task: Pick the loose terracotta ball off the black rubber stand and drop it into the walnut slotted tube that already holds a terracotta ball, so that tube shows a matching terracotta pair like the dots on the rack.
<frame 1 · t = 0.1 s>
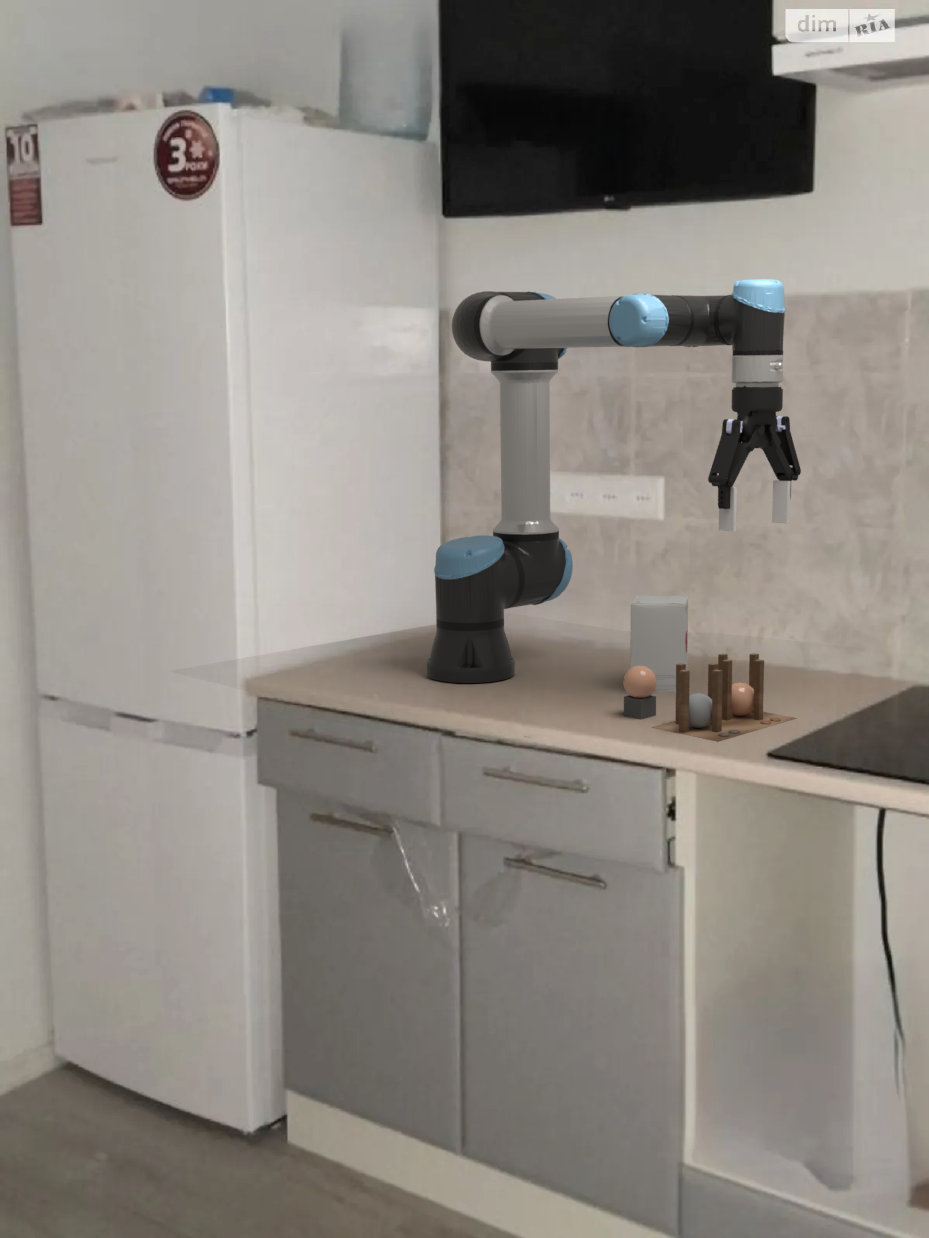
hand: (754, 527, 231), 28 cm above the worktop, fingers open, 13 cm apart
supplement box: (659, 690, 249), on the worktop
stand: (639, 719, 229), on the worktop
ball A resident: (698, 727, 221), point 1 cm above the worktop, touching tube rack
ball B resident: (739, 715, 227), point 1 cm above the worktop, touching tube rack
ball loose: (640, 682, 228), point 6 cm above the worktop, touching stand
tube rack: (724, 726, 223), on the worktop
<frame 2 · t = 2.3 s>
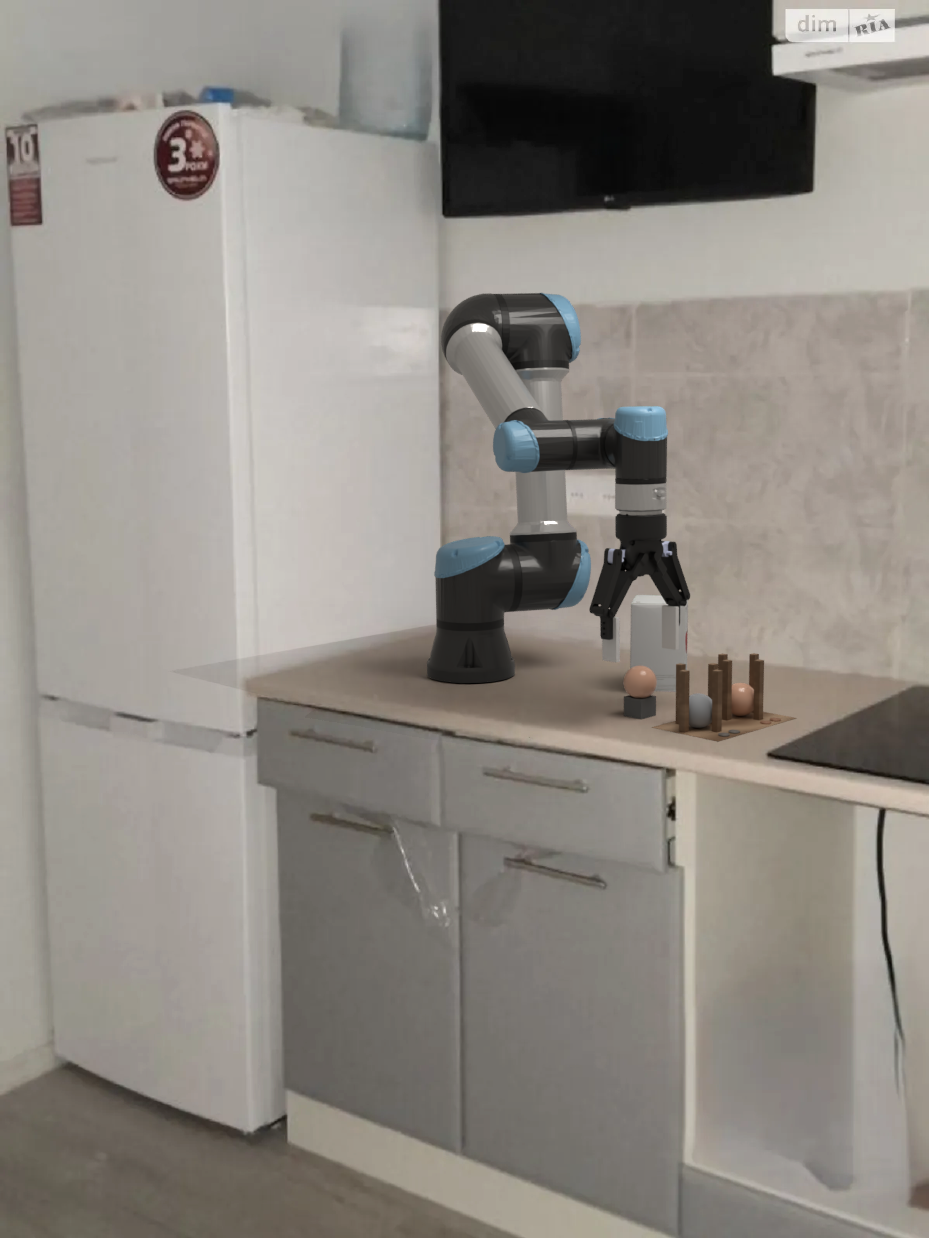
hand: (641, 654, 227), 10 cm above the worktop, fingers open, 13 cm apart
nothing on the worktop moved.
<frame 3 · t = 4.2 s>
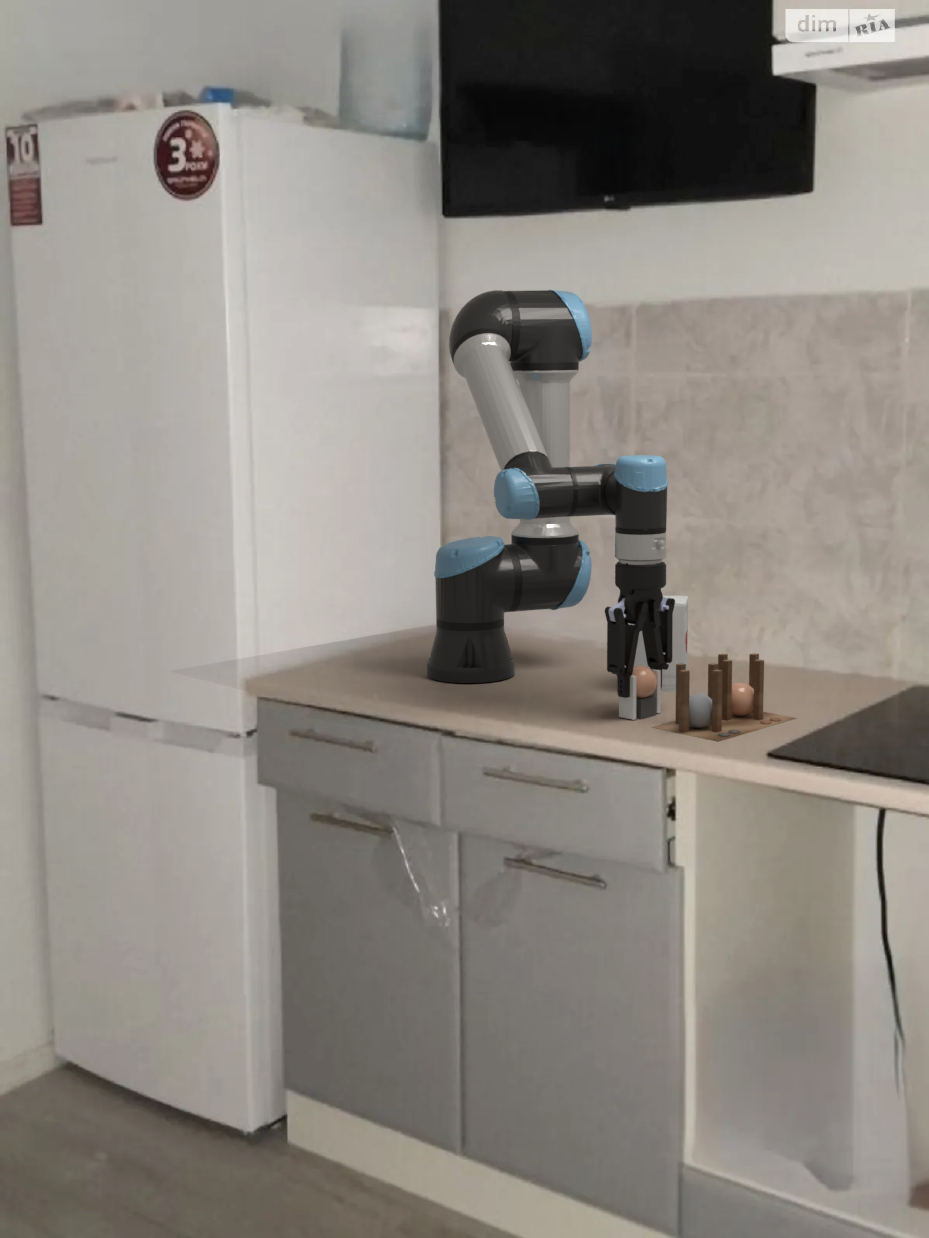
hand: (639, 714, 228), 1 cm above the worktop, fingers closed on ball loose, 5 cm apart
ball loose: (640, 682, 228), point 6 cm above the worktop, touching gripper, stand
everything else where it was.
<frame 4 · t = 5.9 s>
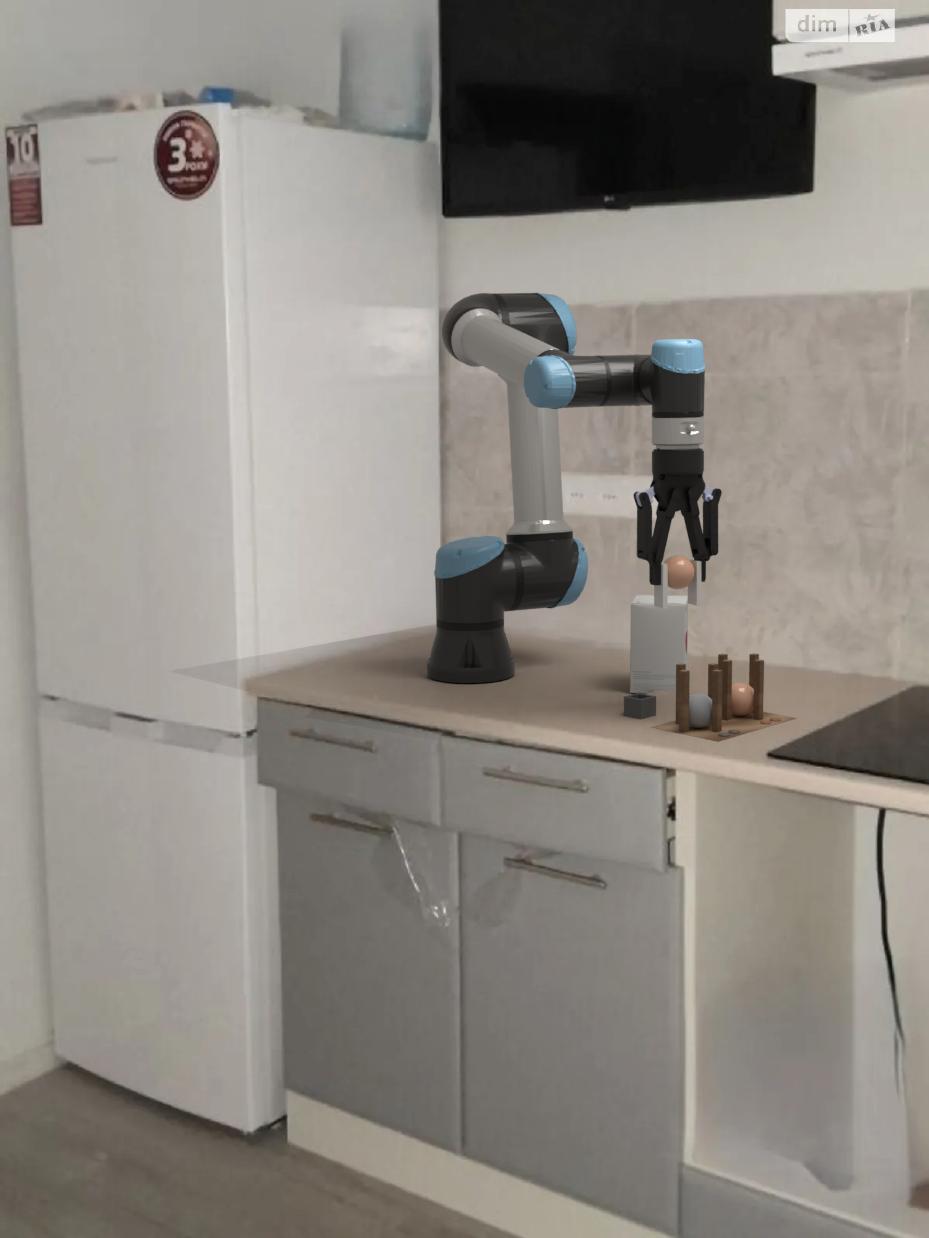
hand: (677, 605, 225), 17 cm above the worktop, fingers closed on ball loose, 5 cm apart
ball loose: (677, 572, 224), point 22 cm above the worktop, touching gripper
everything else where it was.
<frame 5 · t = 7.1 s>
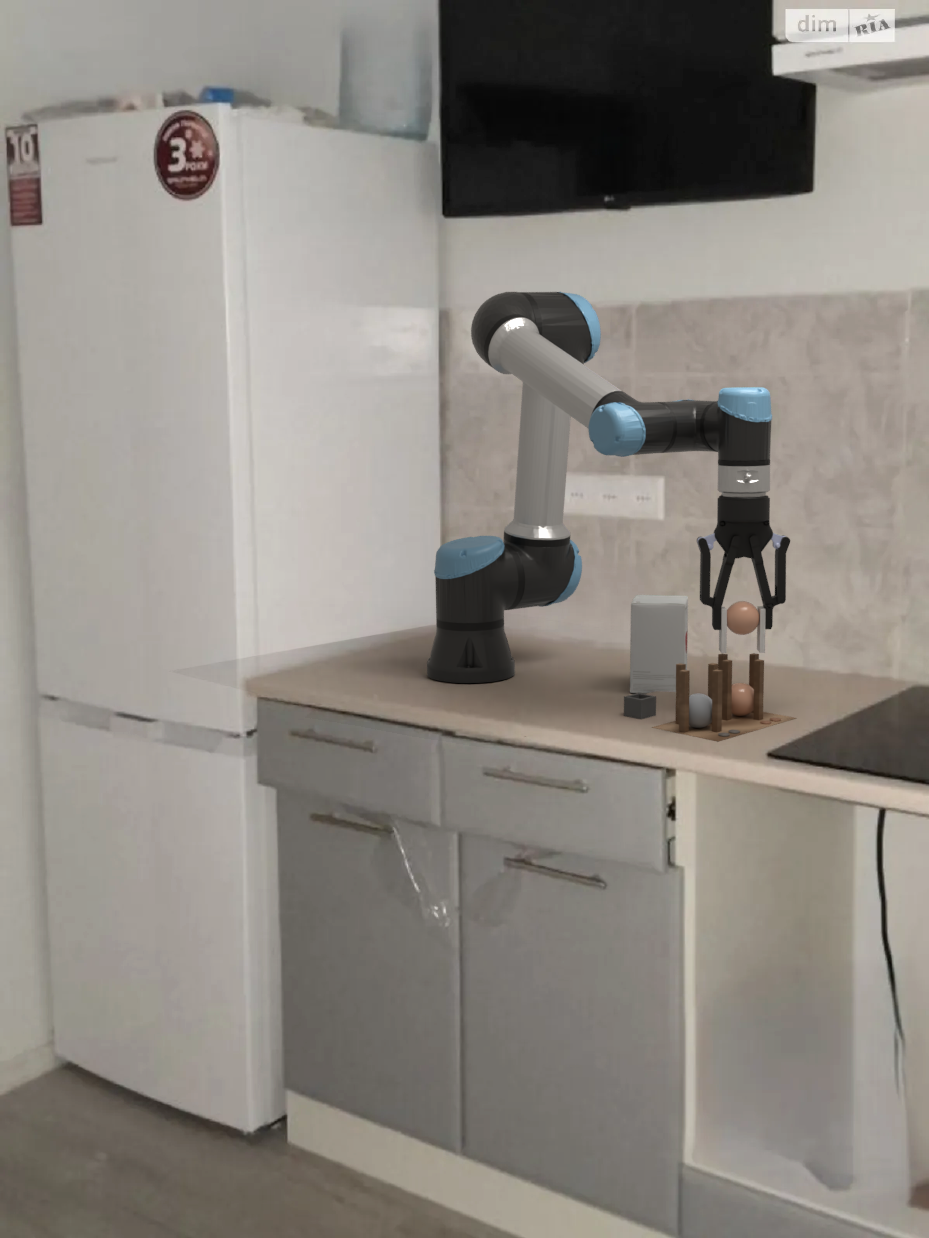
hand: (741, 650, 226), 10 cm above the worktop, fingers closed on ball loose, 5 cm apart
ball loose: (742, 618, 225), point 15 cm above the worktop, touching gripper
everything else where it was.
when the fingers open (10 cm above the worktop, at t = 7.8 s): ball loose drops 7 cm, resting on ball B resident.
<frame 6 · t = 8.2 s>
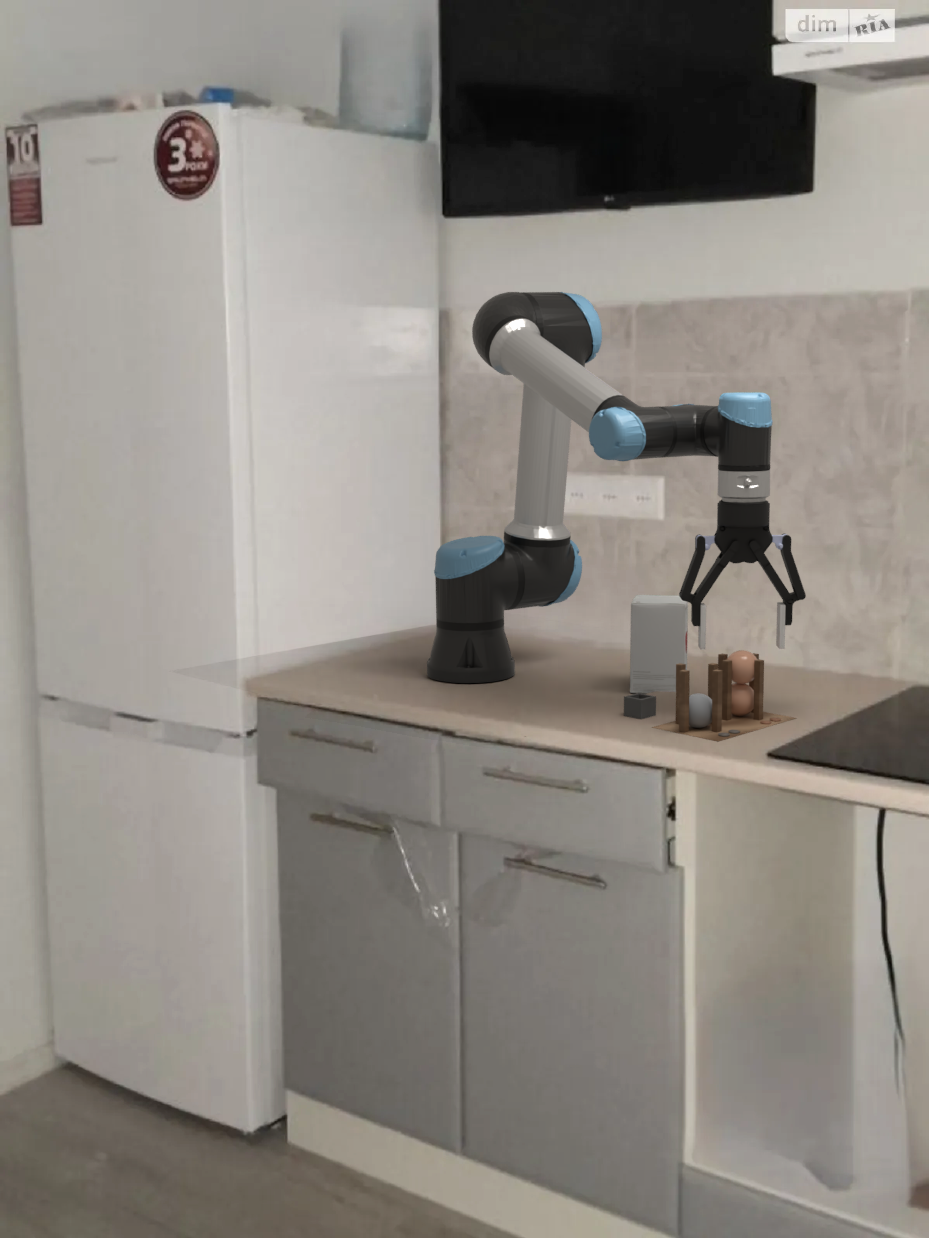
hand: (741, 647, 226), 11 cm above the worktop, fingers open, 11 cm apart
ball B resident: (739, 715, 227), point 1 cm above the worktop, touching ball loose, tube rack
ball loose: (742, 667, 226), point 8 cm above the worktop, tilted 15°, touching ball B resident
everything else where it was.
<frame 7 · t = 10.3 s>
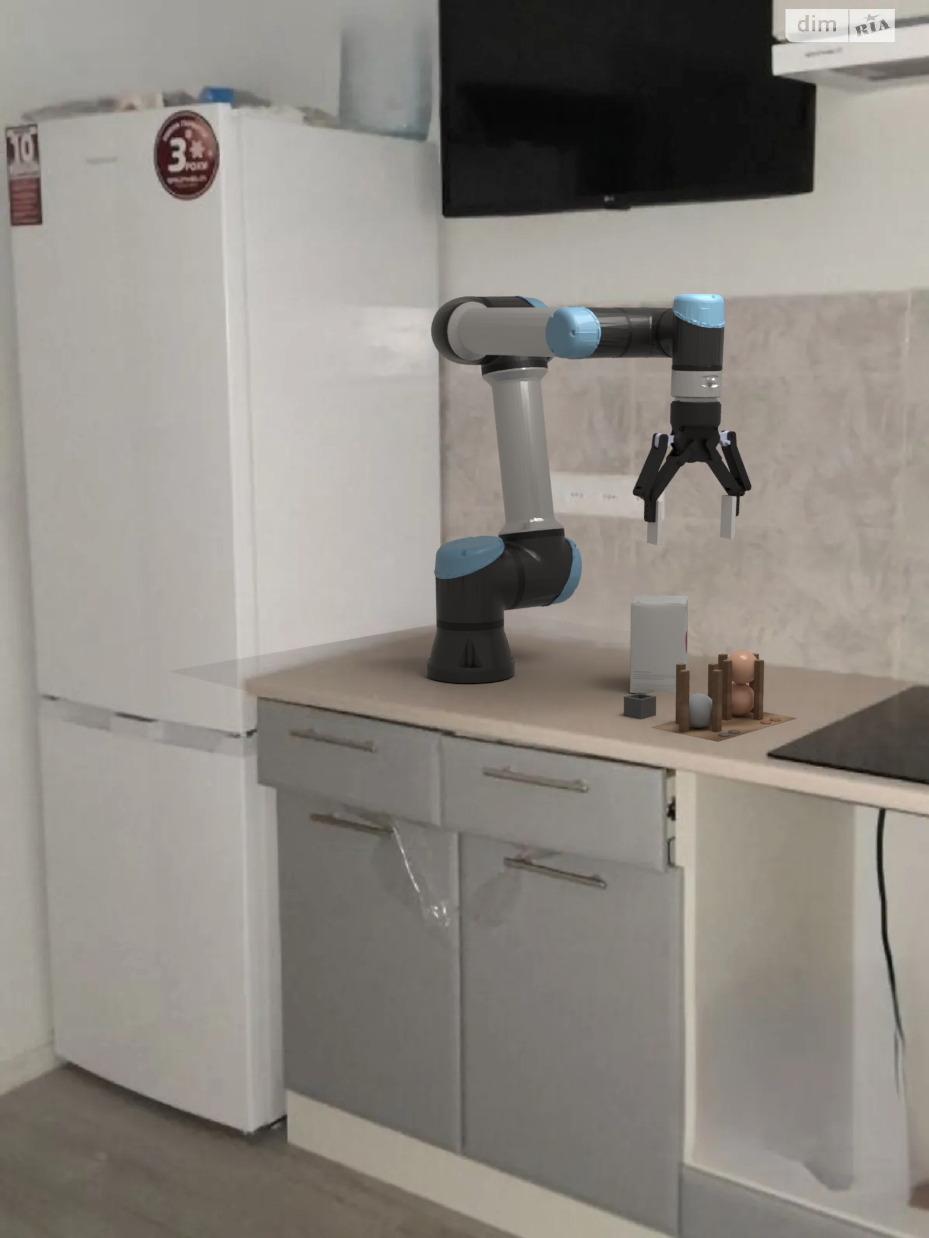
hand: (691, 541, 231), 26 cm above the worktop, fingers open, 13 cm apart
ball loose: (741, 667, 226), point 8 cm above the worktop, tilted 21°, touching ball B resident, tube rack
everything else where it was.
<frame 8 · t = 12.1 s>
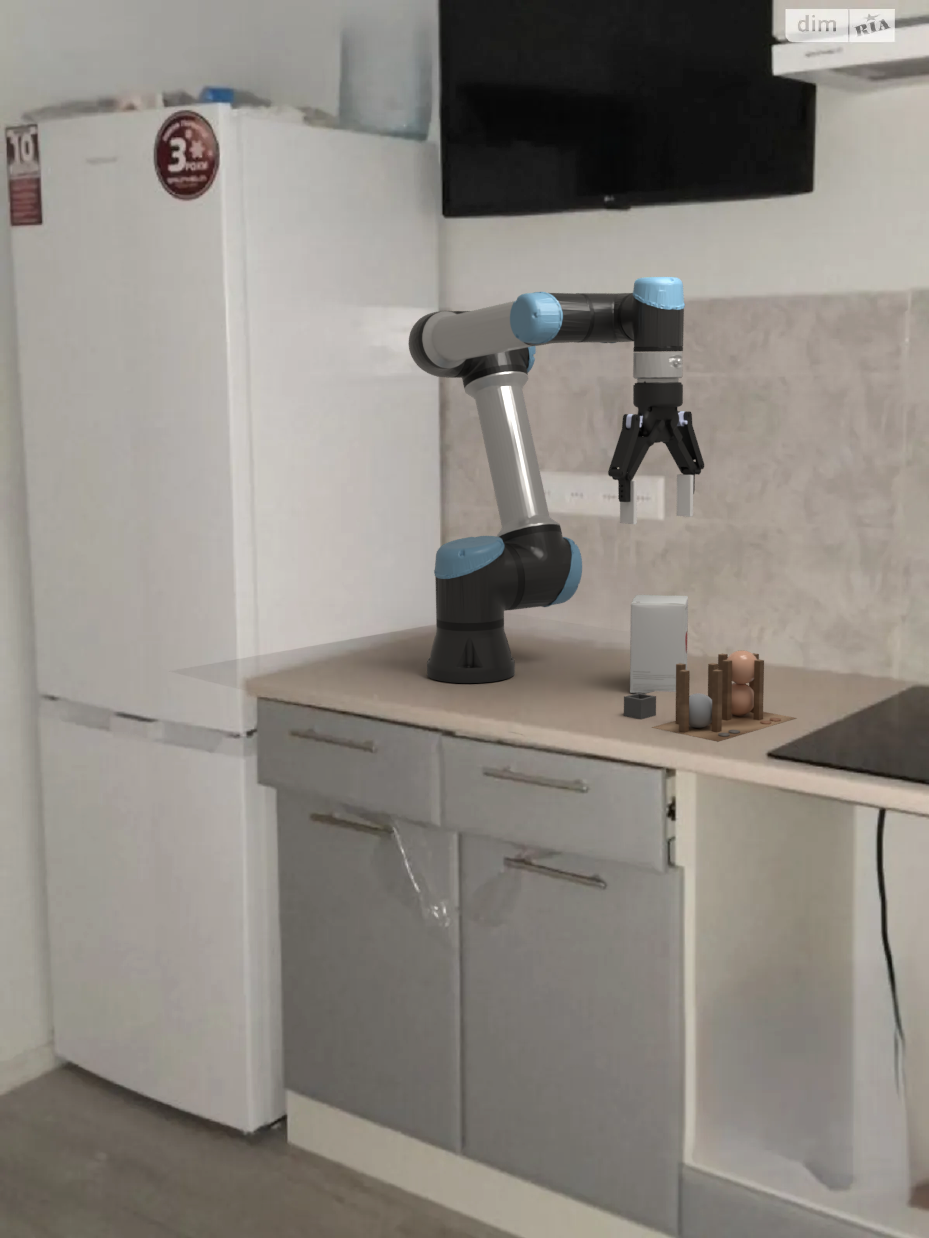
hand: (657, 520, 235), 29 cm above the worktop, fingers open, 13 cm apart
nothing on the worktop moved.
at the end: ball loose 0.3 cm from the target spot on the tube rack, point 8.1 cm above the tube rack's base; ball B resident 0.0 cm from the target spot on the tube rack, point 0.6 cm above the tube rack's base; the gripper is holding nothing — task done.
